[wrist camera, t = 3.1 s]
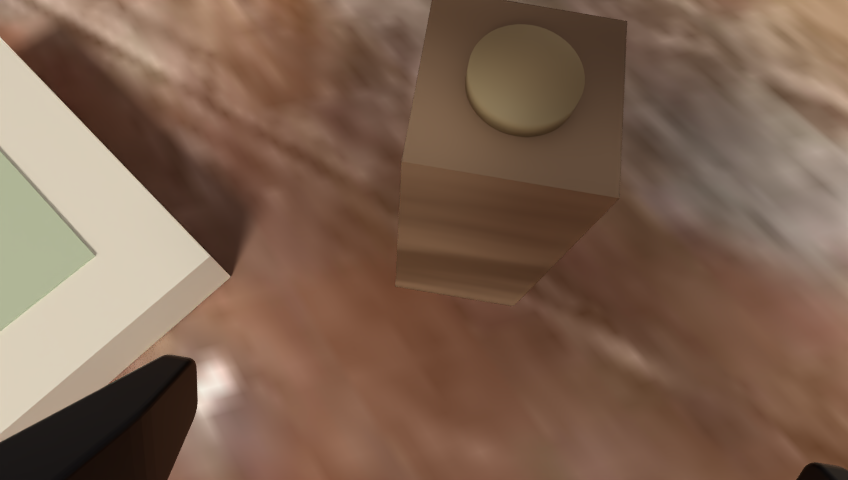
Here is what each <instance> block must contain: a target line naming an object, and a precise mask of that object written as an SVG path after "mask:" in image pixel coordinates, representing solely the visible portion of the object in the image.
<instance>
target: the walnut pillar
mask: <svg viewBox="0 0 848 480" xmlns="http://www.w3.org/2000/svg"><path fill="white" fill-rule="evenodd" d="M626 34H627V21H623V20H617V19H611V18H605V17H599V16H593V15H588V14H582V13H576V12H570V11H564V10H558V9H552V8H547V7H541V6H535V5H529V4H523V3H517V2H511V1H506V0H432V3H431V9H430V14H429V19H428V24H427V30H426V35H425V40H424V45H423V51H422V56H421V61H420V66H419V72H418V77H417V82H416V88H415V93H414V98H413V103H412V109H411V114H410V119H409V124H408V130H407V135H406V140H405V145H404V151H403V156H402V161H401V181H400V201H399V222H398V242H397V262H396V283H395V287H401V288H407V289H413V290H419V291H425V292H431V293H437V294H443V295H449V296H455V297H461V298H467V299H473V300H479V301H485V302H491V303H497V304H503V305H509V306H514V305H515V304H516V303H517V302H518V301H519V300H520V299H521V298H522V297H523V296H524V295H525V294H526V293H527V292H528V291H529V290H530V289H531V288H532V287H533V286H534V285H535V284H536V283H537V282H538V281H539V280H540V279H541V278H542V277H543V276H544V275H545V274H546V273H547V272H548V271H549V270H550V269H551V268H552V267H553V265H554V264H555V263H556V262H557V261H558V260H559V259H560V258H561V257H562V256H563V255H564V254H565V253H566V252H567V251H568V250H569V249H570V248H571V247H572V246H573V245H574V244H575V243H576V242H577V241H578V240H579V239H580V238H581V237H582V236H583V235H584V234H585V233H586V232H587V231H588V230H589V229H590V228H591V227H592V226H593V225H594V224H595V223H596V222H597V221H598V220H599V219H600V218H601V217H602V216H603V215H604V214H605V212H606V211H607V210H608V209H609V208H610V207H611V206H612V205H613V204H614V203H615V202H616V201H617V200H618V199H619V198H620V174H621V151H622V127H623V104H624V81H625V57H626Z"/></svg>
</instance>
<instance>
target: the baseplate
mask: <svg viewBox="0 0 848 480" xmlns="http://www.w3.org/2000/svg"><path fill="white" fill-rule="evenodd" d="M230 277H231V276H230V275H229V274H228V273H227V272H226V271H225V270H224V269H223V268H222V267H221V266H220V265H219V264H218V263H217V262H216V261H215V260H214V259H213V258H212V257H211V256H210V255H209V253H208V252H207V251H206V250H205V249H204V248H203V247H202V246H201V245H200V244H199V243H198V242H197V241H196V240H195V239H194V238H193V237H192V236H191V235H190V234H189V233H188V232H187V231H186V230H185V229H184V227H183V226H182V225H181V224H180V223H179V222H178V221H177V220H176V219H175V218H174V217H173V216H172V215H171V214H170V213H169V212H168V211H167V210H166V209H165V208H164V207H163V206H162V205H161V204H160V203H159V201H158V200H157V199H156V198H155V197H154V196H153V195H152V194H151V193H150V192H149V191H148V190H147V189H146V188H145V187H144V186H143V185H142V184H141V183H140V182H139V181H138V180H137V179H136V178H135V176H134V175H133V174H132V173H131V172H130V171H129V170H128V169H127V168H126V167H125V166H124V165H123V164H122V163H121V162H120V161H119V160H118V159H117V158H116V157H115V156H114V155H113V154H112V153H111V152H110V150H109V149H108V148H107V147H106V146H105V145H104V144H103V143H102V142H101V141H100V140H99V139H98V138H97V137H96V136H95V135H94V134H93V133H92V132H91V131H90V130H89V129H88V128H87V127H86V126H85V124H84V123H83V122H82V121H81V120H80V119H79V118H78V117H77V116H76V115H75V114H74V113H73V112H72V111H71V110H70V109H69V108H68V107H67V106H66V105H65V104H64V103H63V102H62V101H61V99H60V98H59V97H58V96H57V95H56V94H55V93H54V92H53V91H52V90H51V89H50V88H49V87H48V86H47V85H46V84H45V83H44V82H43V81H42V80H41V79H40V78H39V77H38V76H37V75H36V73H35V72H34V71H33V70H32V69H31V68H30V67H29V66H28V65H27V64H26V63H25V62H24V61H23V60H22V59H21V58H20V57H19V56H18V55H17V54H16V53H15V52H14V51H13V50H12V49H11V48H10V47H9V46H8V45H7V44H6V43H5V42H4V41H3V40H2V39H1V38H0V442H1V441H3V440H5V439H7V438H9V437H11V436H12V435H14V434H16V433H18V432H20V431H22V430H24V429H26V428H27V427H29V426H31V425H33V424H35V423H37V422H39V421H41V420H42V419H44V418H46V417H48V416H50V415H52V414H54V413H56V412H58V411H59V410H61V409H63V408H65V407H67V406H69V405H71V404H73V403H74V402H76V401H78V400H80V399H82V398H84V397H86V396H88V395H89V394H91V393H93V392H95V391H97V390H99V389H101V388H103V387H105V386H106V385H107V384H108V383H109V382H111V381H112V380H113V379H114V378H115V377H116V376H118V375H119V374H120V373H121V372H122V371H123V370H124V369H126V368H127V367H128V366H129V365H130V364H131V363H132V362H134V361H135V360H136V359H137V358H138V357H139V356H141V355H142V354H143V353H144V352H145V351H146V350H147V349H149V348H150V347H151V346H152V345H153V344H154V343H155V342H157V341H158V340H159V339H160V338H161V337H162V336H164V335H165V334H166V333H167V332H168V331H169V330H170V329H172V328H173V327H174V326H175V325H176V324H177V323H178V322H180V321H181V320H182V319H183V318H184V317H185V316H186V315H188V314H189V313H190V312H191V311H192V310H193V309H195V308H196V307H197V306H198V305H199V304H200V303H201V302H203V301H204V300H205V299H206V298H207V297H208V296H209V295H211V294H212V293H213V292H214V291H215V290H216V289H218V288H219V287H220V286H221V285H222V284H223V283H224V282H226V281H227V280H228V279H229V278H230Z"/></svg>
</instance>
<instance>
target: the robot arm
mask: <svg viewBox="0 0 848 480" xmlns="http://www.w3.org/2000/svg"><path fill="white" fill-rule="evenodd" d="M197 402H198V400H197V368H196V363H195V361H194V360H193V359H191V358H188V357H182V356H176V355H164V356H161V357H159V358H157V359H155V360H153V361H152V362H150V363H148V364H146V365H144V366H142V367H140V368H138V369H136V370H135V371H133V372H131V373H129V374H127V375H125V376H123V377H121V378H120V379H118V380H116V381H114V382H112V383H110V384H108V385H106V386H105V387H103V388H101V389H99V390H97V391H95V392H93V393H91V394H89V395H88V396H86V397H84V398H82V399H80V400H78V401H76V402H74V403H73V404H71V405H69V406H67V407H65V408H63V409H61V410H59V411H58V412H56V413H54V414H52V415H50V416H48V417H46V418H44V419H42V420H41V421H39V422H37V423H35V424H33V425H31V426H29V427H27V428H26V429H24V430H22V431H20V432H18V433H16V434H14V435H12V436H11V437H9V438H7V439H5V440H3V441H1V442H0V480H167V479H168V477H169V475H170V473H171V470H172V468H173V466H174V463H175V461H176V459H177V456H178V454H179V452H180V449H181V447H182V445H183V443H184V440H185V438H186V436H187V433H188V431H189V429H190V426H191V424H192V422H193V419H194V417H195V413H196V409H197ZM797 480H848V471H847V470H846V469H844V468H842V467H839V466H835V465H829V464H823V463H816V462H814V463H810V464H808V465H806V466H805V467H804V469H803V470H802V472H801V473H800V475H799V477H798V478H797Z"/></svg>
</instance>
